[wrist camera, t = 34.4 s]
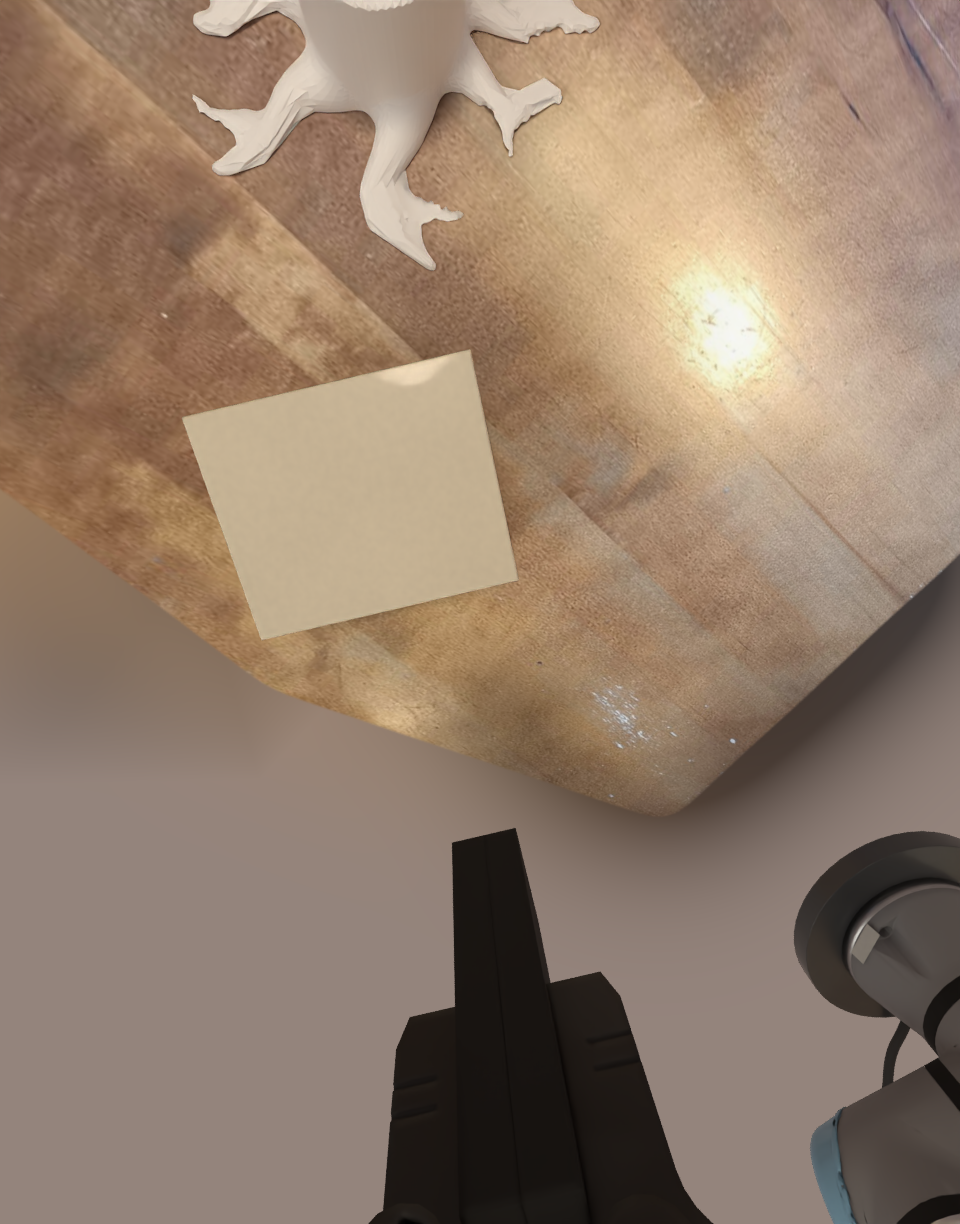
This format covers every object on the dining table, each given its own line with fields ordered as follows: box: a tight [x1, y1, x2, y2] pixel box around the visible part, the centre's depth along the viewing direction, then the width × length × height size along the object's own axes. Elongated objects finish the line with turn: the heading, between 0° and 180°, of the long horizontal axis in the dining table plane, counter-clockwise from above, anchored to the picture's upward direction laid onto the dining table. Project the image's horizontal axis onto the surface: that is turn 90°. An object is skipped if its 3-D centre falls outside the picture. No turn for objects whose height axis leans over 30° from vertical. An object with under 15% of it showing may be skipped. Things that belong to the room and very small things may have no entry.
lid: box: [182, 350, 519, 640], centre depth 31 cm, size 15×13×1 cm
